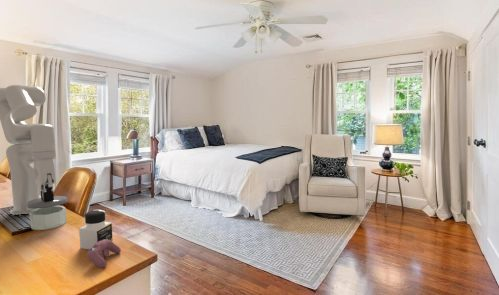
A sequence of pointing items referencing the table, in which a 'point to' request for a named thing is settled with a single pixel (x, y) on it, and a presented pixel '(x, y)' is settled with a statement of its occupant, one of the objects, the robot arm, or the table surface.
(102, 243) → the video game controller
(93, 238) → the medicine bottle
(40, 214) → the bowl
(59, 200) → the lid
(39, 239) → the table surface
